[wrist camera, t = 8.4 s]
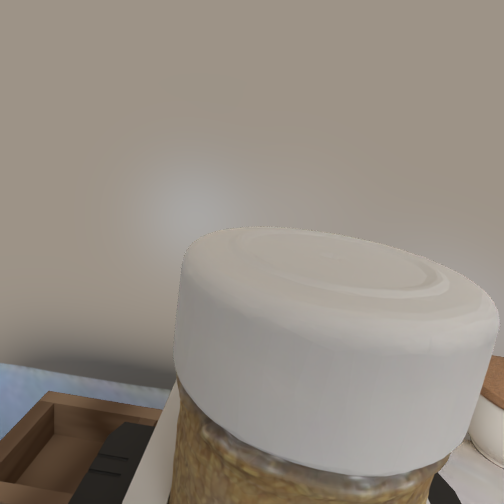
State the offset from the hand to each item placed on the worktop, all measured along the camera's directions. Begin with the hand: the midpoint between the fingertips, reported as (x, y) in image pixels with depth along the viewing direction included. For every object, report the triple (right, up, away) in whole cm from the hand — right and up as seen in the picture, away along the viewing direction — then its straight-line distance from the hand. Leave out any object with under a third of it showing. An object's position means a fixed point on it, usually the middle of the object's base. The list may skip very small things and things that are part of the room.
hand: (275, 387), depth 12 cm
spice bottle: (-1, -8, -3) cm, 9 cm away
